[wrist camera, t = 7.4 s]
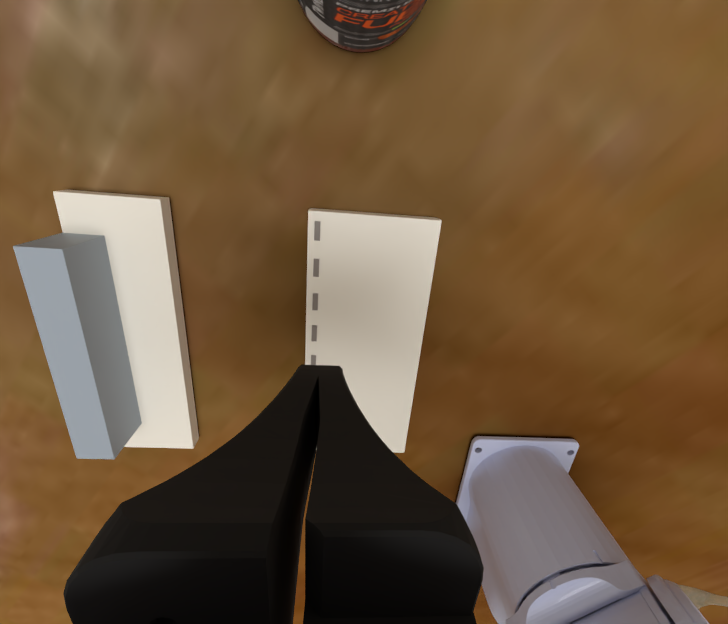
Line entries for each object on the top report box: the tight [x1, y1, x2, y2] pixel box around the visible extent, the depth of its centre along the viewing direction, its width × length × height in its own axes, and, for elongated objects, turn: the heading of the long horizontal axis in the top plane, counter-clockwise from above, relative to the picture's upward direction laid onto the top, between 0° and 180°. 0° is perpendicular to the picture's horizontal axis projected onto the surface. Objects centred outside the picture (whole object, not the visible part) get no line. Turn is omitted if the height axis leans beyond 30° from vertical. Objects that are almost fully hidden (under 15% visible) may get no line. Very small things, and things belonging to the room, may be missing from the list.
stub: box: [13, 190, 199, 459], centre depth 20 cm, size 16×5×4 cm, turn 175°
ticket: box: [305, 208, 442, 453], centre depth 22 cm, size 16×7×1 cm, turn 175°
